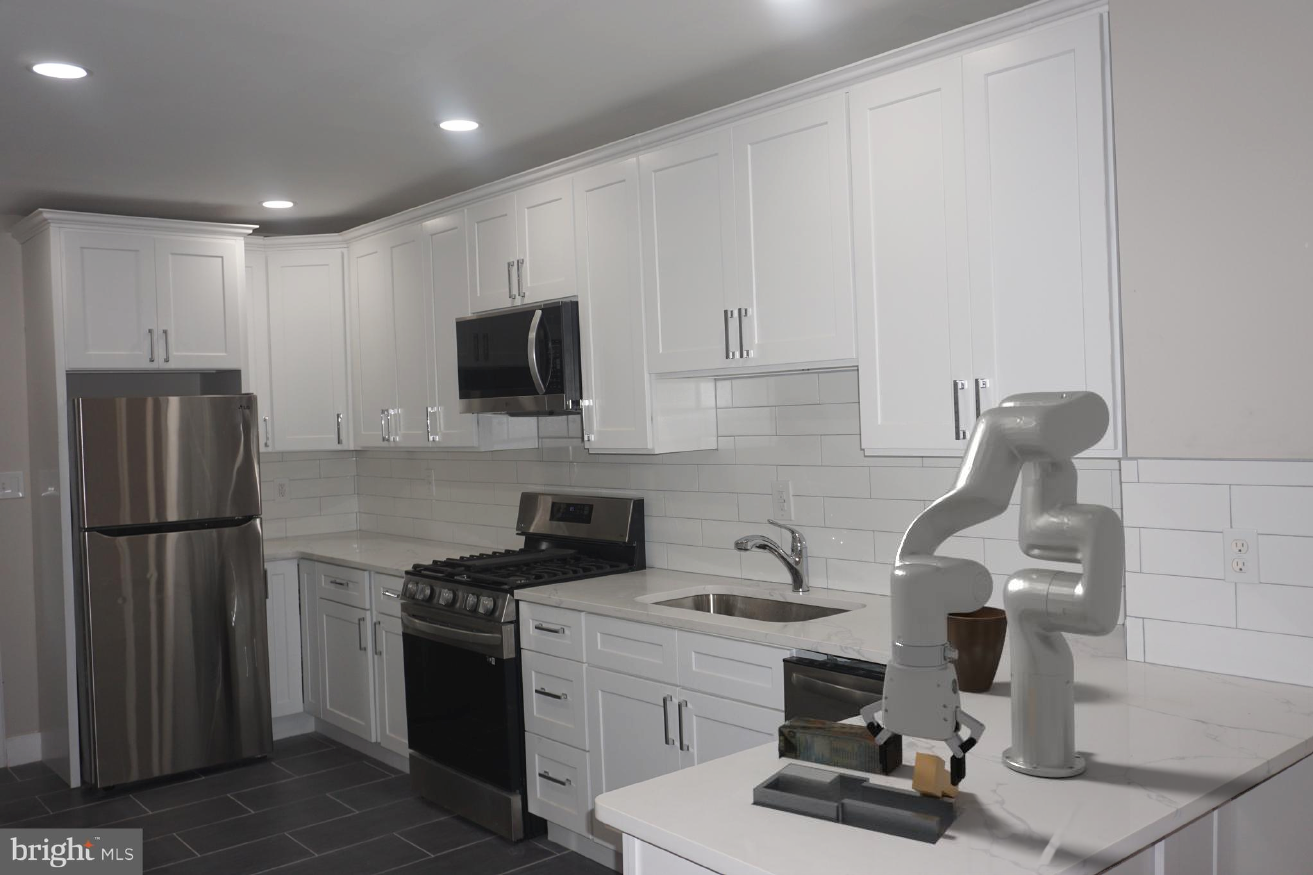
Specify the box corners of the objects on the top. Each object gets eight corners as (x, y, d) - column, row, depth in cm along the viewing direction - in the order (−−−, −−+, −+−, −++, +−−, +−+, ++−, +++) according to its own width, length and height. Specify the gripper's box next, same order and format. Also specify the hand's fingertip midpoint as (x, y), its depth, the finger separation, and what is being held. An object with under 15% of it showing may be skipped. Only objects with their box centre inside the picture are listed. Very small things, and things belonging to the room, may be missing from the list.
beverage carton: (796, 748, 172) (796, 710, 172) (905, 767, 162) (905, 727, 162) (776, 762, 165) (776, 722, 165) (888, 783, 155) (888, 741, 155)
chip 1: (791, 786, 151) (790, 763, 151) (815, 791, 149) (814, 768, 149) (779, 795, 148) (778, 772, 148) (804, 800, 146) (803, 776, 146)
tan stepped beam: (911, 788, 139) (936, 802, 148) (932, 792, 138) (956, 806, 147) (916, 752, 141) (940, 768, 150) (937, 755, 140) (960, 771, 149)
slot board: (792, 779, 157) (792, 761, 157) (965, 813, 142) (965, 793, 142) (751, 809, 145) (750, 790, 145) (934, 850, 130) (934, 828, 130)
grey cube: (815, 791, 149) (814, 768, 149) (840, 796, 147) (839, 773, 147) (803, 800, 146) (803, 777, 146) (829, 806, 144) (828, 781, 143)
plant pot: (947, 675, 217) (946, 602, 217) (1018, 684, 209) (1017, 608, 209) (924, 691, 205) (923, 613, 205) (998, 701, 197) (997, 620, 196)
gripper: (990, 655, 136) (992, 779, 137) (869, 641, 146) (872, 758, 146) (975, 667, 130) (977, 797, 130) (850, 652, 139) (852, 774, 140)
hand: (921, 776), depth 138 cm, fingers open, 9 cm apart
